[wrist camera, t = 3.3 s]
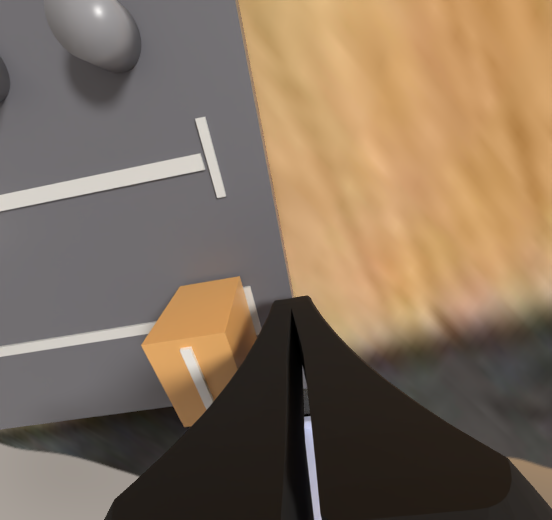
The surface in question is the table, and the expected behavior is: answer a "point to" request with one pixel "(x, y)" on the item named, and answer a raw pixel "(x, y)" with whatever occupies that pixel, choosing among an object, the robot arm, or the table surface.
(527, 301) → the table surface
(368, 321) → the table surface
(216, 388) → the fader
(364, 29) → the table surface
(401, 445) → the robot arm
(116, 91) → the mixer board
